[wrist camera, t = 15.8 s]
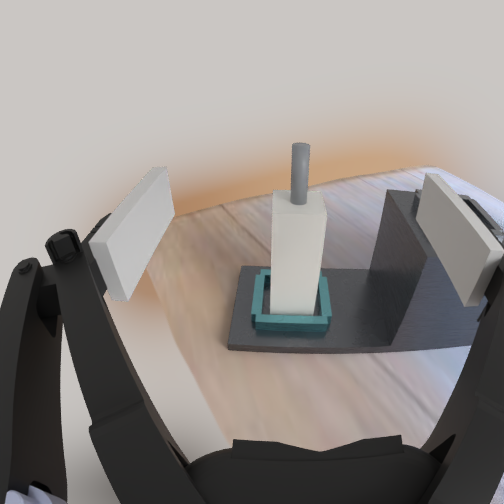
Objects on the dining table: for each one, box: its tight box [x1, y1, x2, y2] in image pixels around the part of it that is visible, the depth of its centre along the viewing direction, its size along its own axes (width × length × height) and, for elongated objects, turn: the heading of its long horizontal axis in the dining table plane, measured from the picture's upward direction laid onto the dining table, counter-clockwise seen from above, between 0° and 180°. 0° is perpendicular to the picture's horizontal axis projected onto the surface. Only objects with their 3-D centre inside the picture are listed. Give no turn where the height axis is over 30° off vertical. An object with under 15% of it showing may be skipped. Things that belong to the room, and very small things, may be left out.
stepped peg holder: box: [228, 189, 504, 354], centre depth 30 cm, size 13×28×13 cm, turn 85°
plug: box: [270, 143, 327, 316], centre depth 29 cm, size 5×4×17 cm
